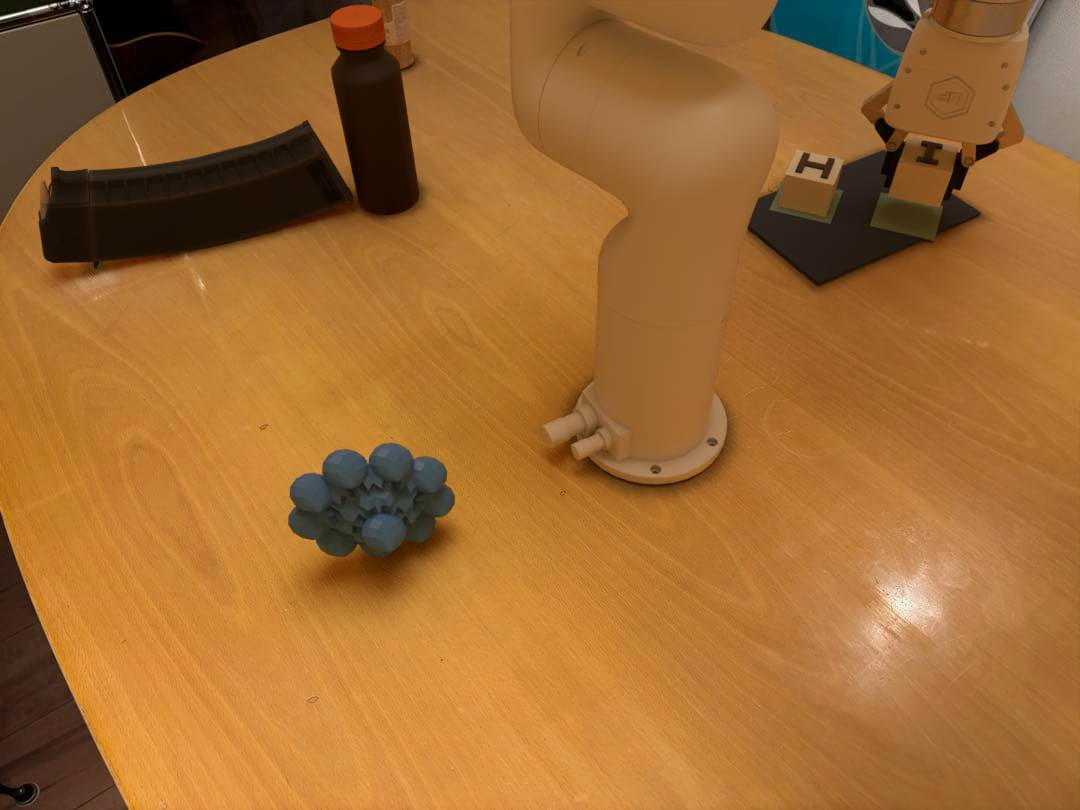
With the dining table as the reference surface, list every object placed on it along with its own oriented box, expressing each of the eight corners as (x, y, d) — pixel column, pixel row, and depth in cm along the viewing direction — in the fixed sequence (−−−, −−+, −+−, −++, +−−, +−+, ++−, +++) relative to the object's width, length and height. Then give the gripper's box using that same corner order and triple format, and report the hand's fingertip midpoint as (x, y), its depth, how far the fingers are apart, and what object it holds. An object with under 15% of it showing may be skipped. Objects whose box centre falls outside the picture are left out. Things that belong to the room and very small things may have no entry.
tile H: (825, 217, 91) (834, 182, 88) (778, 206, 92) (785, 171, 89) (835, 191, 94) (845, 156, 91) (789, 181, 95) (797, 146, 92)
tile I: (939, 207, 86) (953, 170, 83) (887, 196, 88) (899, 159, 84) (946, 180, 89) (960, 143, 86) (896, 170, 91) (907, 133, 87)
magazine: (357, 117, 90) (21, 96, 77) (364, 132, 88) (21, 113, 75) (340, 254, 101) (45, 256, 88) (347, 271, 99) (45, 275, 86)
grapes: (322, 625, 61) (280, 530, 52) (302, 549, 66) (260, 449, 57) (478, 569, 64) (463, 469, 55) (449, 500, 68) (431, 397, 59)
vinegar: (346, 195, 96) (306, 14, 81) (398, 172, 99) (368, -7, 84) (379, 223, 93) (342, 39, 78) (431, 199, 95) (406, 17, 81)
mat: (824, 291, 84) (825, 288, 83) (720, 205, 93) (720, 201, 93) (987, 220, 91) (988, 216, 90) (874, 146, 100) (875, 143, 100)
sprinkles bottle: (373, 64, 116) (355, -42, 106) (399, 51, 119) (383, -53, 109) (396, 74, 114) (380, -32, 104) (422, 61, 117) (408, -44, 106)
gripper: (870, 9, 75) (825, 188, 89) (1087, 42, 70) (1003, 227, 83) (886, -26, 79) (840, 150, 93) (1090, 4, 74) (1011, 185, 88)
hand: (918, 185), depth 88 cm, fingers closed on tile I, 5 cm apart
